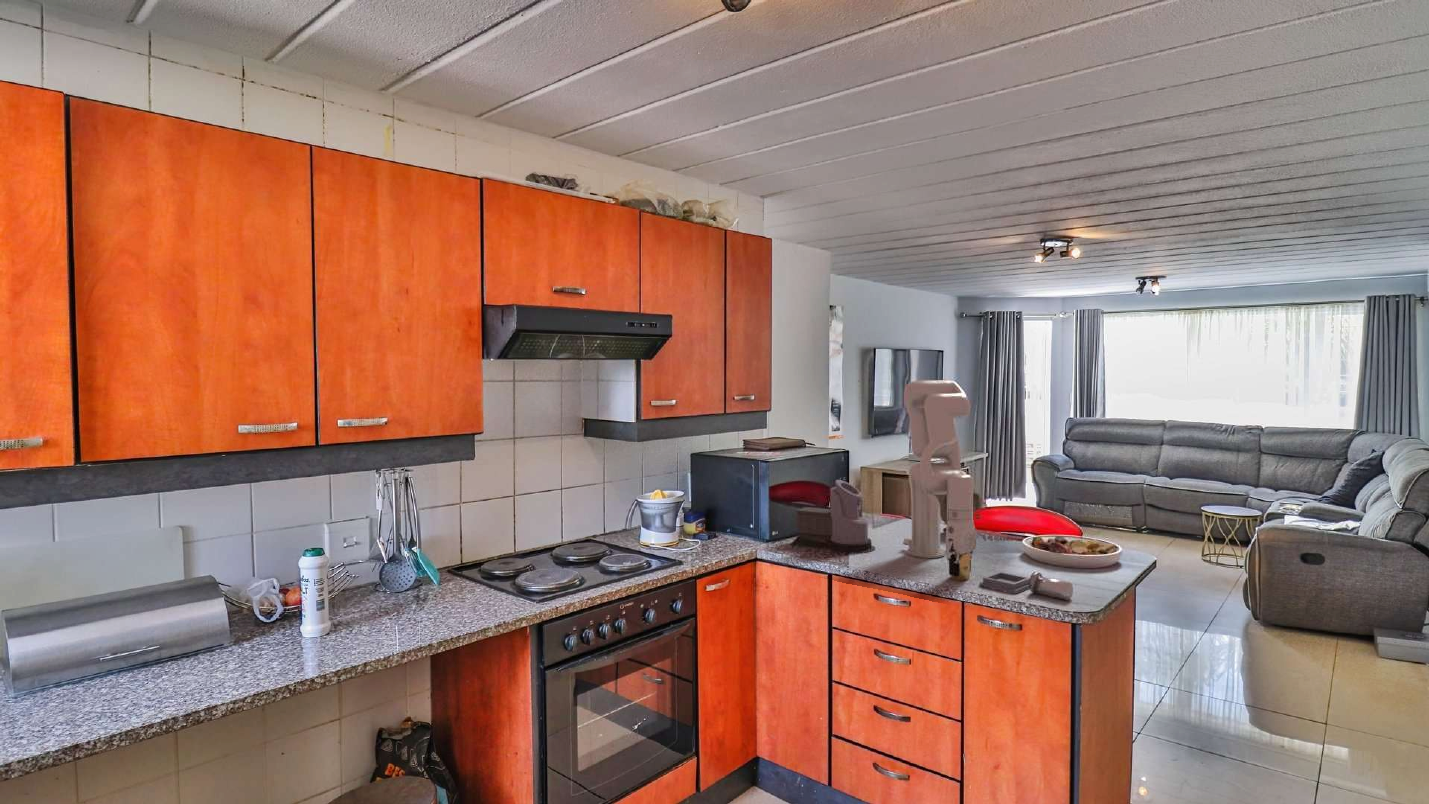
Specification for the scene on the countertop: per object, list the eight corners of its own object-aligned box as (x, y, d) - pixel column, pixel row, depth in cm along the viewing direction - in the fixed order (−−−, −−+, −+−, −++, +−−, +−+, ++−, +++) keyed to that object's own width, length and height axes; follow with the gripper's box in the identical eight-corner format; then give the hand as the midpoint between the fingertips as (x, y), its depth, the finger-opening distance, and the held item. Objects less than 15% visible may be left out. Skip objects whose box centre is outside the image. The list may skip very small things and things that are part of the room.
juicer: (881, 546, 269) (881, 479, 268) (865, 556, 255) (865, 485, 254) (806, 537, 285) (805, 474, 284) (787, 546, 271) (786, 479, 270)
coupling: (946, 577, 227) (946, 551, 226) (956, 574, 230) (956, 548, 230) (963, 581, 222) (963, 554, 222) (973, 578, 226) (973, 551, 226)
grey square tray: (979, 586, 218) (979, 577, 218) (998, 578, 225) (998, 570, 225) (1015, 594, 209) (1015, 585, 209) (1034, 586, 216) (1034, 578, 216)
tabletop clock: (976, 531, 291) (977, 468, 290) (983, 536, 282) (983, 471, 281) (939, 531, 292) (939, 468, 291) (944, 536, 283) (944, 471, 282)
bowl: (1041, 544, 269) (1041, 523, 269) (1133, 558, 249) (1133, 534, 248) (1008, 560, 248) (1008, 537, 247) (1105, 576, 227) (1106, 551, 227)
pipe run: (1028, 594, 209) (1028, 573, 209) (1038, 590, 213) (1038, 570, 213) (1064, 602, 201) (1064, 581, 201) (1073, 597, 205) (1073, 577, 205)
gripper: (955, 520, 217) (955, 581, 218) (986, 512, 228) (986, 570, 229) (933, 516, 223) (933, 576, 224) (964, 509, 234) (964, 566, 235)
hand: (959, 573), depth 226 cm, fingers closed on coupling, 5 cm apart
